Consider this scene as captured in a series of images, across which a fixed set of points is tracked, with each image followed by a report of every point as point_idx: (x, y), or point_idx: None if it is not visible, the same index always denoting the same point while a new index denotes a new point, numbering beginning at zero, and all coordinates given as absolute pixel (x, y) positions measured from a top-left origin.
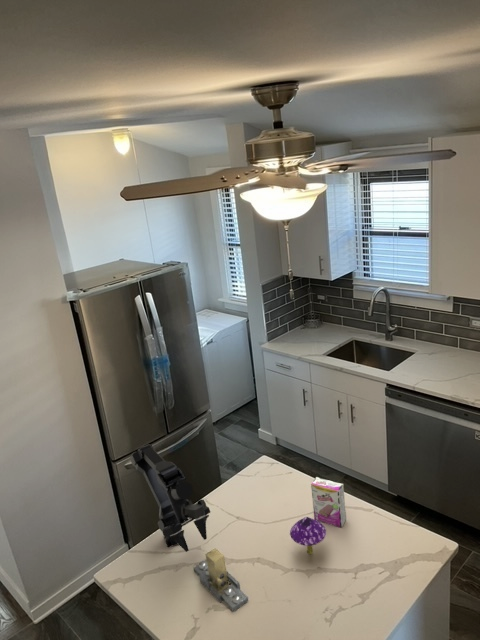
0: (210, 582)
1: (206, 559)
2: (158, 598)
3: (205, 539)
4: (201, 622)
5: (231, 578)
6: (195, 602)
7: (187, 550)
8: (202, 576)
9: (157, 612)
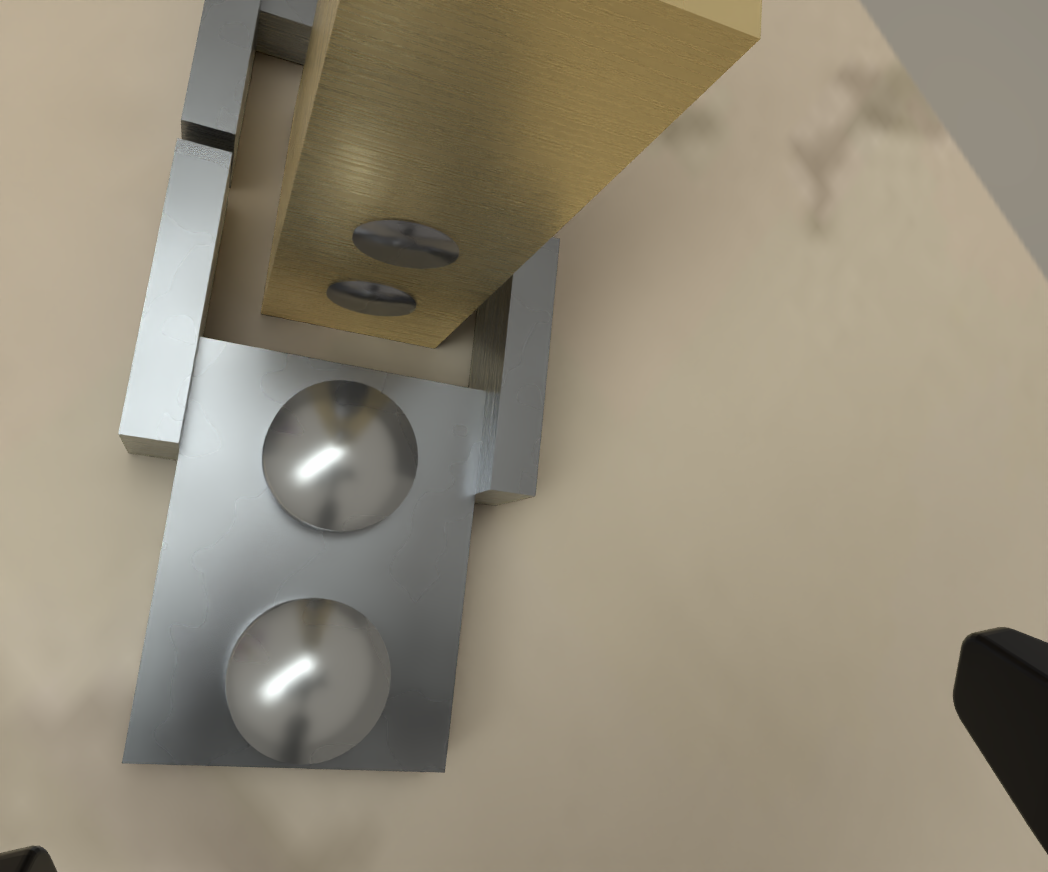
0: (444, 338)
1: (657, 127)
2: (944, 711)
3: (52, 867)
4: (805, 90)
5: (245, 19)
6: (717, 314)
7: (1024, 643)
8: (511, 444)
9: (1016, 553)
